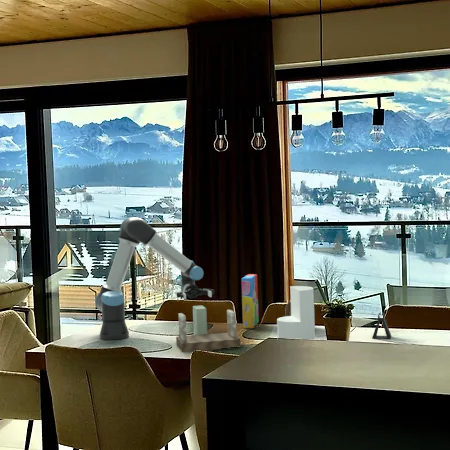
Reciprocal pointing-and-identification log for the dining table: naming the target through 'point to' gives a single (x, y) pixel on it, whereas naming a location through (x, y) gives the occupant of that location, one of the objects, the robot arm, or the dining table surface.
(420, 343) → the dining table surface
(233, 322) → the marble base with posts
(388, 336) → the phone stand
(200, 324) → the book
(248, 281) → the game box
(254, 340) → the dining table surface
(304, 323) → the white l-shaped block
